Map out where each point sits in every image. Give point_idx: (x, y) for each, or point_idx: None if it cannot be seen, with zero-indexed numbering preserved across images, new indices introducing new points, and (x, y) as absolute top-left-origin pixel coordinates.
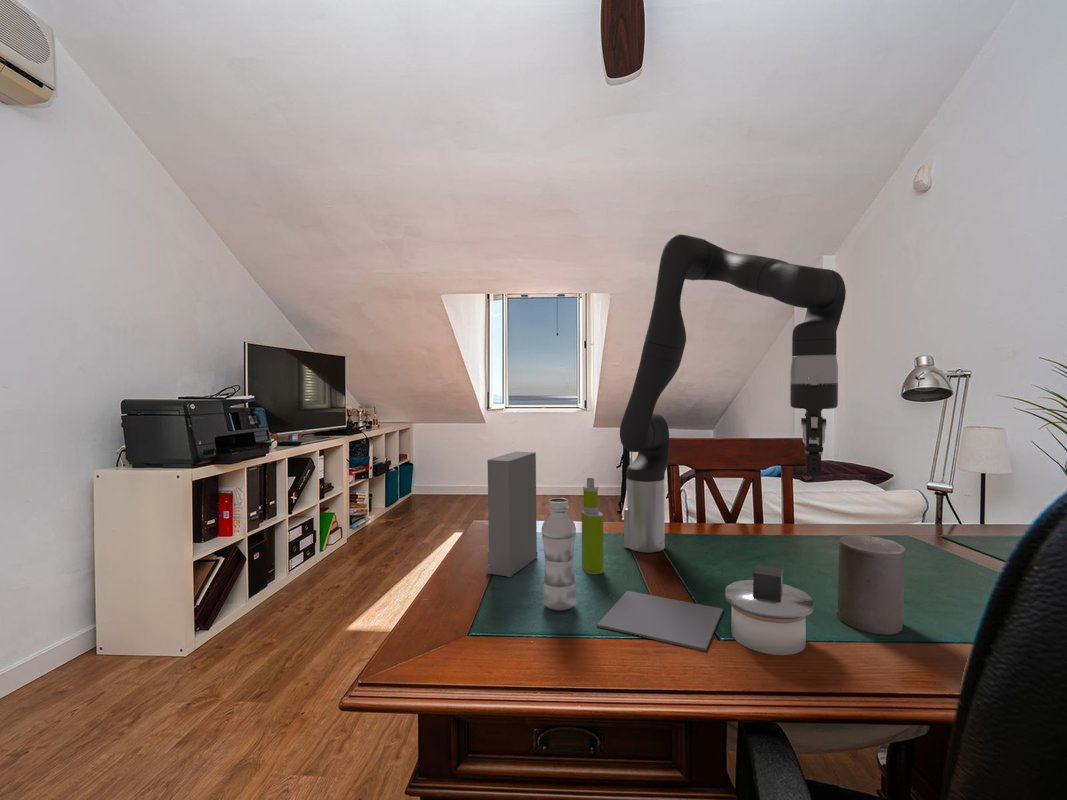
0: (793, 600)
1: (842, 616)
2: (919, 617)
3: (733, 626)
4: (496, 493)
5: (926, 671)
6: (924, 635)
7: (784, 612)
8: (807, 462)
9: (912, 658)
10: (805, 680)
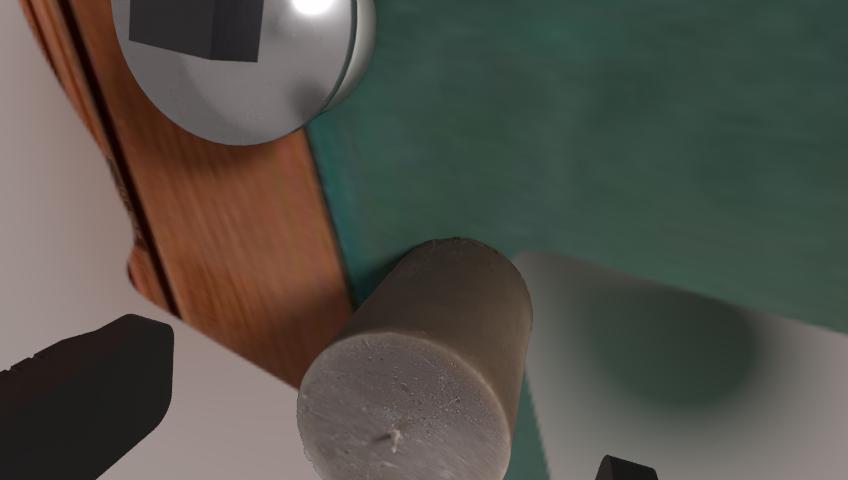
0: (211, 87)
1: (428, 244)
2: None
3: None
4: None
5: (248, 324)
6: None
7: (122, 45)
8: (28, 373)
9: (292, 323)
10: (133, 82)
